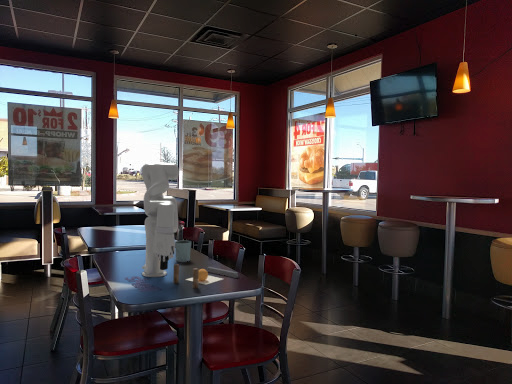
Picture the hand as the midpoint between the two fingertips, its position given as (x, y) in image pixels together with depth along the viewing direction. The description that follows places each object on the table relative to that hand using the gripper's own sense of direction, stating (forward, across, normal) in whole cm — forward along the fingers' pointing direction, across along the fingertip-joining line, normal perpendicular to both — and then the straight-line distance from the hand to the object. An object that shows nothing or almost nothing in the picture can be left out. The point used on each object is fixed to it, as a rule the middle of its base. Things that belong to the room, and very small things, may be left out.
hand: (163, 269), depth 177 cm
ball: (+8, +2, +24) cm, 26 cm away
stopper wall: (+11, +2, +41) cm, 42 cm away
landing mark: (+11, +2, +27) cm, 29 cm away
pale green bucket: (+14, -39, +52) cm, 66 cm away
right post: (+10, +8, +13) cm, 18 cm away
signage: (+12, -17, +1) cm, 20 cm away
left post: (+11, -5, +13) cm, 18 cm away
